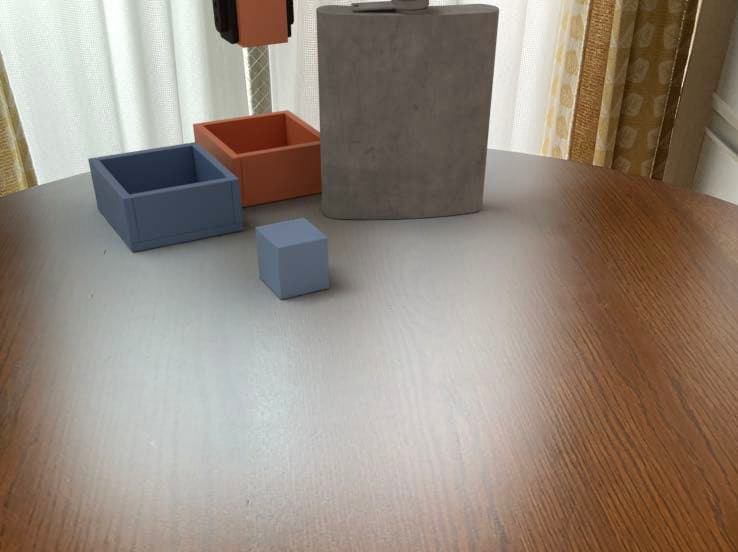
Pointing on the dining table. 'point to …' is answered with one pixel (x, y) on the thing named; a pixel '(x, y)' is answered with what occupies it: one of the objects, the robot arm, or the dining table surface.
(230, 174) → the blue bin
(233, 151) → the terracotta bin
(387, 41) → the hip flask
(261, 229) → the blue block
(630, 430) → the dining table surface
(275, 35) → the terracotta block
